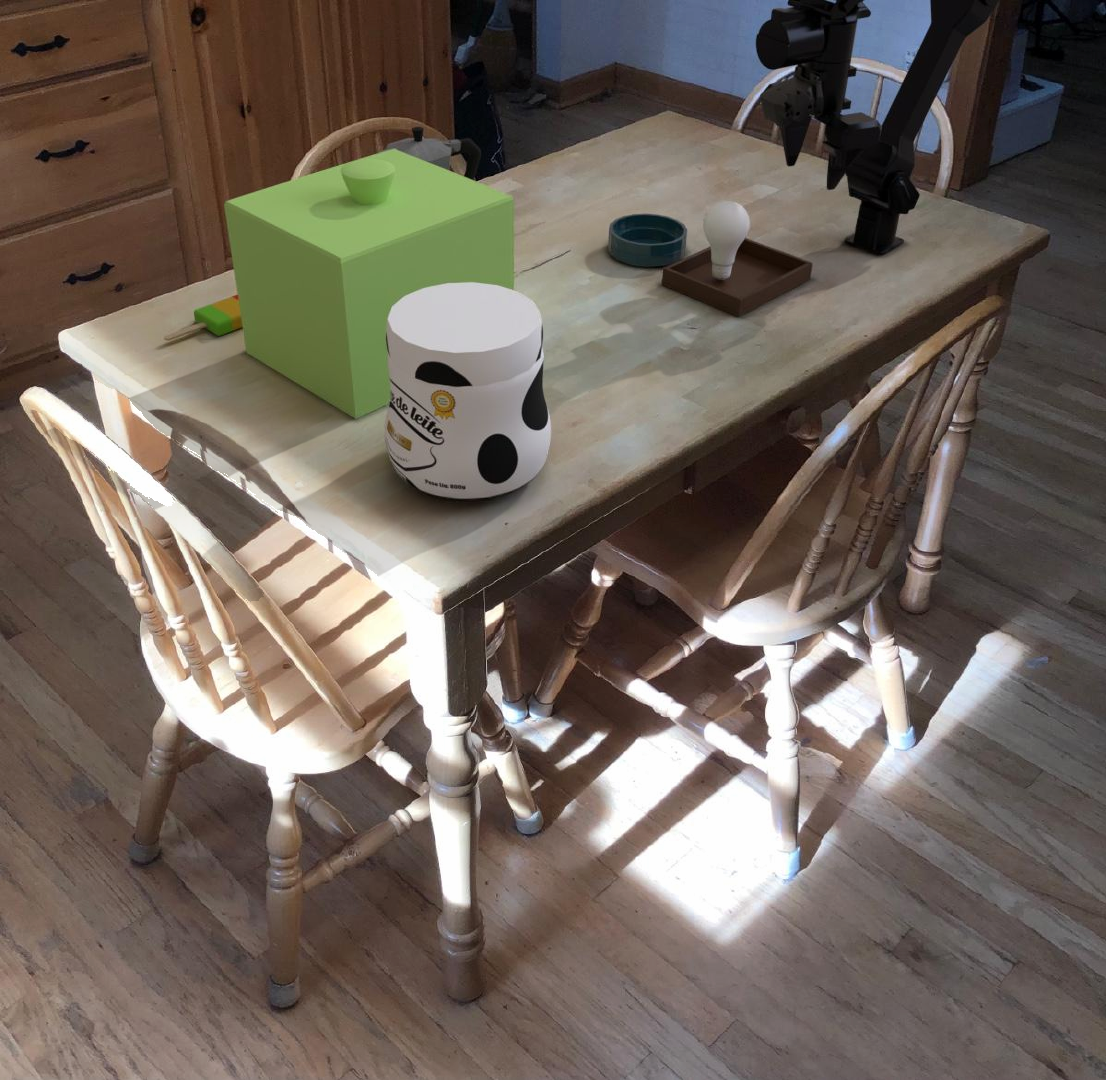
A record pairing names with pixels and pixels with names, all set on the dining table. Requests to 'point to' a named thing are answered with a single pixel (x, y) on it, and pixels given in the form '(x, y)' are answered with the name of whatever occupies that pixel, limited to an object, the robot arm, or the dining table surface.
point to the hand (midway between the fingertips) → (810, 177)
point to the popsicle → (215, 318)
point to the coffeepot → (438, 150)
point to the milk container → (466, 391)
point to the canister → (357, 264)
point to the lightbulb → (725, 235)
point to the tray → (738, 277)
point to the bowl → (647, 240)
